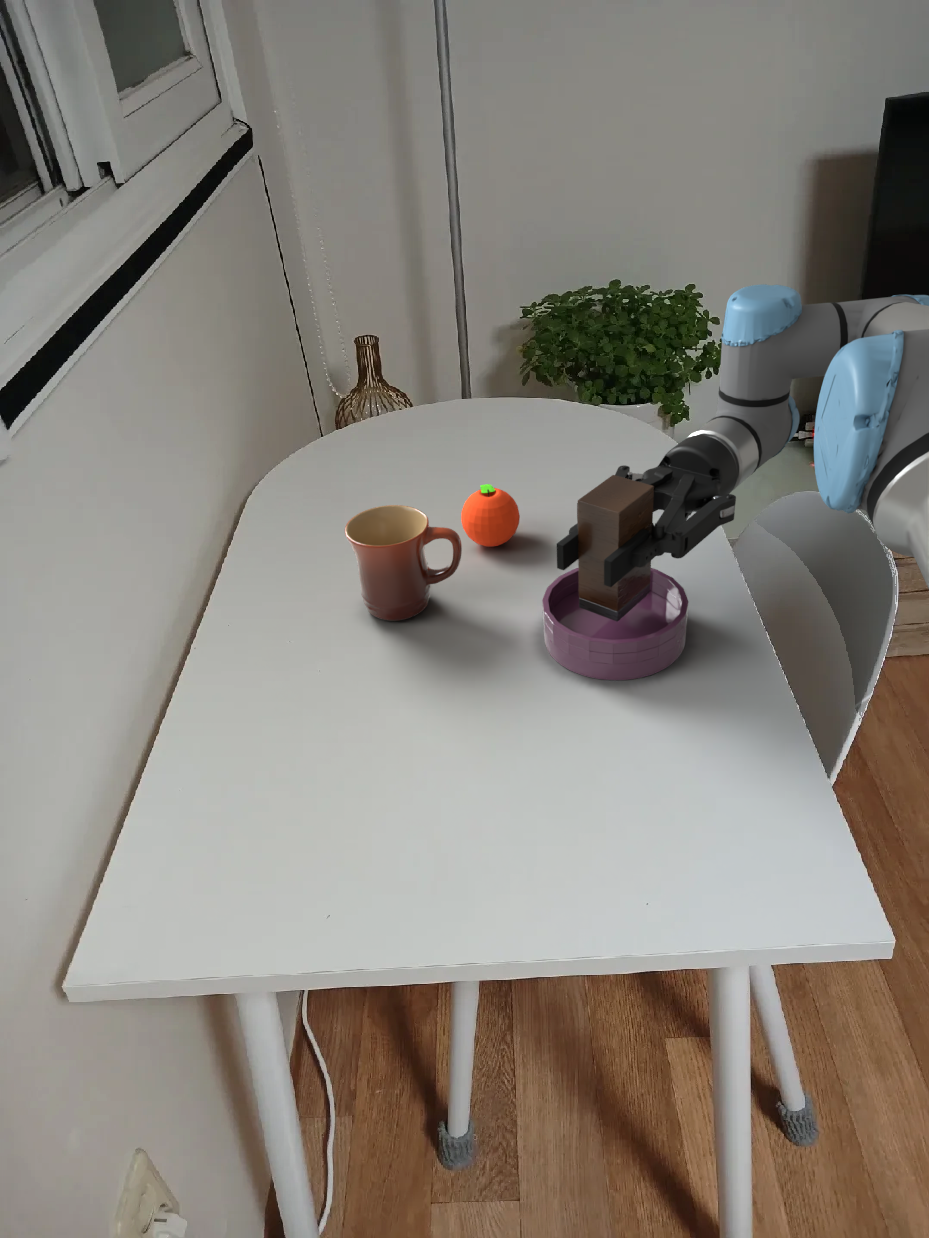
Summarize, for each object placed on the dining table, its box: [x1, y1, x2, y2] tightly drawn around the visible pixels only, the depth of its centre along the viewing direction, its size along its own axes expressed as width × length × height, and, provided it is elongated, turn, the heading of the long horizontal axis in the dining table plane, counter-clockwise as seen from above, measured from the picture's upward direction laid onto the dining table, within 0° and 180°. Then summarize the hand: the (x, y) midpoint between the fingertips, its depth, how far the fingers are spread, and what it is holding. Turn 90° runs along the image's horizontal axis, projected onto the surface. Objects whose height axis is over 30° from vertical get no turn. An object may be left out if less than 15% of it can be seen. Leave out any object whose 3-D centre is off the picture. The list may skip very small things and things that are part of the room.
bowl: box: [541, 567, 690, 681], centre depth 96 cm, size 14×14×4 cm
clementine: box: [460, 483, 521, 548], centre depth 113 cm, size 8×7×7 cm
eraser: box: [577, 474, 654, 622], centre depth 91 cm, size 4×6×12 cm
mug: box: [344, 504, 463, 622], centre depth 102 cm, size 12×9×10 cm
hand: (583, 565), depth 87 cm, fingers closed on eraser, 4 cm apart
